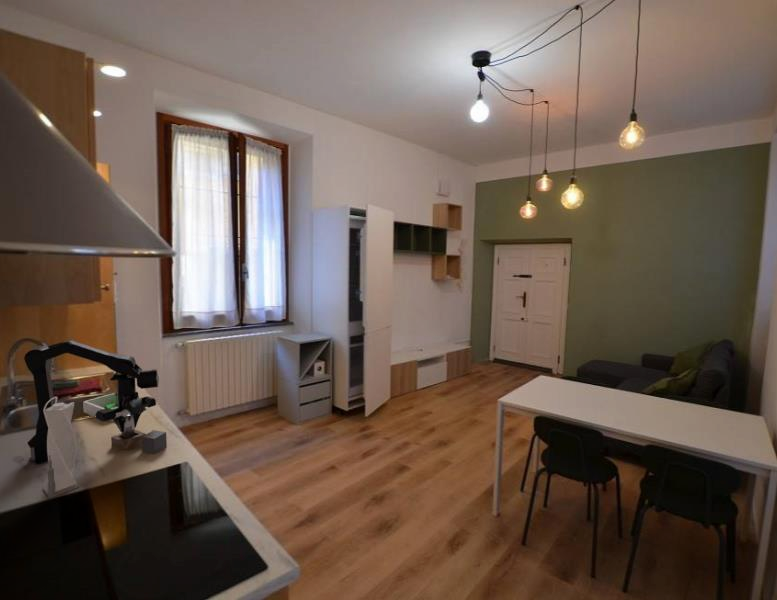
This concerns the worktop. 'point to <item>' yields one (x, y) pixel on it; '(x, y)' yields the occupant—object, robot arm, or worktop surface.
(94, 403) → the part corral
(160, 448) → the grey cube
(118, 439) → the socket block
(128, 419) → the grey cylinder
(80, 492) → the worktop surface
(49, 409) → the white tall twisted piece
